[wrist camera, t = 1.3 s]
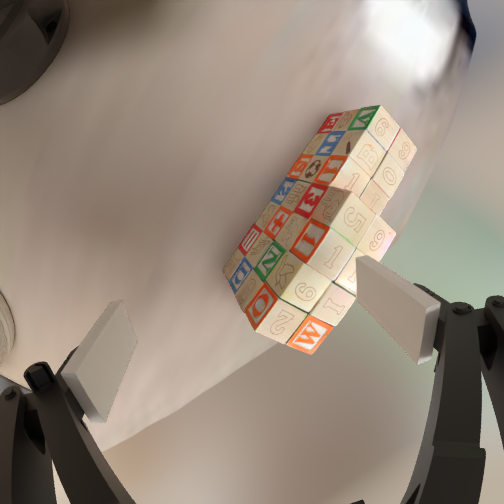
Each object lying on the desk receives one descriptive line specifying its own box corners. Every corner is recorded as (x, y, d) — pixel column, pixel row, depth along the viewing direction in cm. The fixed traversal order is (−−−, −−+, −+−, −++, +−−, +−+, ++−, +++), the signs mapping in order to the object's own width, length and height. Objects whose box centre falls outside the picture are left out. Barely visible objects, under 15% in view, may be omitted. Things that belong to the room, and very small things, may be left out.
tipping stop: (-16, 417, 27) (-19, 426, 25) (-26, 359, 24) (-32, 369, 22) (36, 443, 31) (34, 453, 29) (35, 392, 29) (31, 403, 27)
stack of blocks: (328, 112, 29) (405, 100, 18) (363, 147, 32) (442, 152, 20) (221, 271, 31) (253, 334, 20) (265, 295, 34) (312, 358, 23)
